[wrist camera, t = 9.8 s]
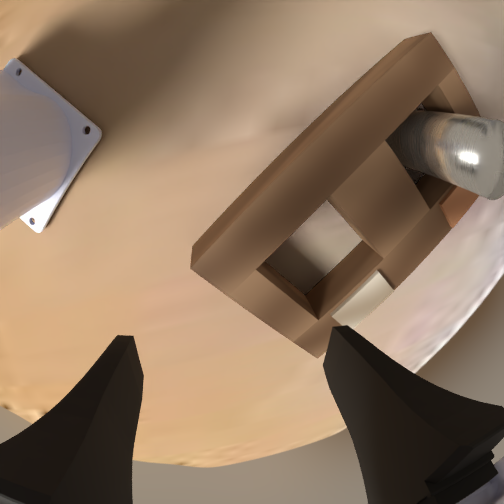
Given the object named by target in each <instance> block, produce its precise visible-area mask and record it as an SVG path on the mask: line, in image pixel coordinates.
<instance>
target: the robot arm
mask: <svg viewBox="0 0 504 504" xmlns="http://www.w3.org/2000/svg"><path fill="white" fill-rule="evenodd" d="M21 69H22V72H21V74H20V75H19V72H20V70H21ZM87 126H89V127H90V133H89V134H86V133H85V128H86V127H87ZM101 137H102V131H101V129H100V128H99V127H98V126H96V125H95V124H94V123H93V122H92V121H90V120H89V119H88V118H87V117H86V116H85V115H83V114H82V113H81V112H80V111H79V110H77V109H76V108H75V107H74V106H73V105H72V104H70V103H69V102H68V101H67V100H66V99H64V98H63V97H62V96H61V95H60V94H58V93H57V92H56V91H55V90H54V89H53V88H51V87H50V86H49V85H48V84H47V83H45V82H44V81H43V80H42V79H41V78H40V77H38V76H37V75H36V74H35V73H34V72H32V71H31V70H30V69H29V68H28V67H27V66H25V65H24V64H23V63H22V62H21V61H19V60H18V59H15V58H13V59H11V60H10V61H9V62H8V63H7V65H6V66H5V68H4V70H0V230H2V229H3V228H4V227H6V226H7V225H9V224H10V223H12V222H13V221H15V220H16V219H18V218H19V217H20V218H21V219H22V220H23V221H24V222H25V223H26V224H27V225H28V226H29V227H31V228H32V229H33V230H34V231H35V232H37V233H40V232H42V231H43V230H44V229H45V227H46V225H47V224H48V222H49V220H50V218H51V216H52V214H53V213H54V211H55V209H56V207H57V206H58V204H59V202H60V200H61V199H62V197H63V195H64V194H65V192H66V190H67V189H68V187H69V185H70V184H71V182H72V181H73V179H74V177H75V176H76V174H77V173H78V171H79V170H80V168H81V167H82V165H83V164H84V162H85V161H86V159H87V158H88V156H89V155H90V153H91V152H92V151H93V149H94V148H95V146H96V145H97V144H98V142H99V141H100V139H101ZM32 218H34V219H35V223H34V222H33V221H32ZM323 368H324V371H325V375H326V378H327V382H328V385H329V388H330V390H331V393H332V395H333V397H334V399H335V402H336V404H337V406H338V408H339V410H340V413H341V415H342V417H343V419H344V421H345V424H346V426H347V428H348V430H349V432H350V435H351V438H352V440H353V443H354V447H355V450H356V453H357V456H358V459H359V463H360V467H361V471H362V475H363V479H364V484H365V489H366V493H367V499H368V504H504V457H503V458H501V459H500V460H499V461H498V462H496V463H495V464H494V465H493V463H492V461H491V460H492V459H493V458H494V454H493V453H492V451H491V450H492V449H493V448H494V447H495V446H496V445H497V444H498V443H499V442H500V441H501V440H502V439H503V437H504V408H503V407H502V406H498V405H493V404H488V403H483V402H479V401H476V400H472V399H469V398H466V397H463V396H460V395H457V394H454V393H452V392H450V391H448V390H445V389H443V388H441V387H438V386H436V385H434V384H432V383H430V382H428V381H426V380H425V379H423V378H421V377H419V376H417V375H416V374H414V373H412V372H411V371H409V370H408V369H406V368H405V367H403V366H402V365H400V364H399V363H397V362H396V361H394V360H393V359H391V358H390V357H389V356H387V355H386V354H385V353H383V352H382V351H381V350H379V349H378V348H377V347H375V346H374V345H373V344H371V343H370V342H369V341H368V340H366V339H365V338H364V337H362V336H361V335H360V334H359V333H357V332H356V331H355V330H353V329H352V328H351V327H349V326H348V325H343V326H335V327H332V331H331V335H330V339H329V343H328V348H327V352H326V355H325V359H324V363H323ZM143 378H144V375H143V371H142V367H141V364H140V360H139V356H138V352H137V348H136V344H135V340H134V336H123V335H117V336H116V337H115V339H114V340H113V341H112V342H111V344H110V345H109V346H108V347H107V349H106V350H105V351H104V352H103V354H102V355H101V356H100V357H99V359H98V360H97V361H96V362H95V364H94V365H93V366H92V367H91V368H90V370H89V371H88V372H87V373H86V374H85V376H84V377H83V378H82V379H81V380H80V381H79V382H78V383H77V384H76V386H75V387H74V388H73V389H72V390H71V391H70V392H69V393H68V394H67V395H66V396H65V397H64V398H63V399H62V400H61V401H60V402H59V403H58V404H57V405H56V406H55V407H53V408H52V409H51V410H50V411H49V412H48V413H46V414H45V415H44V416H42V417H41V418H40V419H39V420H37V421H36V422H35V423H33V424H32V425H31V426H29V427H28V428H26V429H25V430H24V431H22V432H20V433H19V434H17V435H16V436H14V437H12V438H11V439H9V440H7V441H5V442H3V443H1V444H0V504H133V501H132V457H133V448H134V442H135V436H136V430H137V424H138V419H139V413H140V408H141V402H142V393H143Z"/></svg>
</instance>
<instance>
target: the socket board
mask: <svg viewBox="0 0 504 504" xmlns="http://www.w3.org/2000/svg"><path fill="white" fill-rule="evenodd" d="M421 103H422V104H423V106H424V107H425V109H426V111H435V112H445V113H454V114H462V115H470V116H476V117H481V116H480V114H479V112H478V110H477V108H476V106H475V104H474V102H473V100H472V98H471V96H470V94H469V93H468V91H467V89H466V87H465V85H464V83H463V82H462V80H461V78H460V76H459V75H458V73H457V71H456V70H455V68H454V66H453V65H452V63H451V61H450V60H449V58H448V57H447V55H446V53H445V52H444V50H443V49H442V47H441V46H440V44H439V43H438V41H437V40H436V39H435V37H434V36H433V34H432V33H427V34H423V35H419V36H415V37H411V38H408V39H404V40H403V41H402V42H401V43H400V44H398V45H397V46H396V47H395V48H394V49H393V50H391V51H390V52H389V53H388V54H387V55H386V56H384V57H383V58H382V59H381V60H380V61H379V62H378V63H377V64H375V65H374V66H373V67H372V68H371V69H370V70H369V71H368V72H366V73H365V74H364V75H363V76H362V77H361V78H360V79H359V80H358V81H356V82H355V83H354V84H353V85H352V86H351V87H350V88H349V89H348V90H347V91H346V92H344V93H343V94H342V95H341V96H340V97H339V98H338V99H337V100H336V101H335V102H334V103H333V104H332V105H331V106H329V107H328V108H327V109H326V110H325V111H324V112H323V113H322V114H321V115H320V116H319V117H318V118H317V119H316V120H315V121H314V122H313V123H312V124H311V125H310V126H308V127H307V128H306V129H305V130H304V131H303V132H302V133H301V134H300V135H299V136H298V137H297V138H296V139H295V140H294V141H293V142H292V143H291V144H290V145H289V146H288V147H287V148H286V149H285V150H284V151H283V152H282V153H281V154H280V155H279V156H278V157H277V158H276V159H275V160H274V161H273V162H272V163H271V164H270V165H269V166H268V167H267V168H266V169H265V170H264V171H263V172H262V173H261V174H260V175H259V176H258V177H257V178H256V179H255V180H254V181H253V182H252V183H251V184H250V185H249V186H248V187H247V189H246V190H245V191H244V192H243V193H242V194H241V195H240V196H239V197H238V198H237V199H236V200H235V201H234V202H233V203H232V204H231V205H230V206H229V207H228V208H227V209H226V211H225V212H224V213H223V214H222V215H221V216H220V217H219V218H218V219H217V220H216V221H215V222H214V223H213V224H212V225H211V227H210V228H209V229H208V230H207V231H206V232H205V233H204V234H203V235H202V236H201V237H200V238H199V240H198V241H197V242H196V243H195V244H194V245H193V246H192V256H191V267H190V269H192V270H193V271H194V272H196V273H197V274H198V275H200V276H201V277H202V278H204V279H205V280H206V281H208V282H209V283H211V284H212V285H213V286H215V287H216V288H217V289H219V290H220V291H221V292H223V293H224V294H225V295H227V296H228V297H230V298H231V299H232V300H234V301H235V302H237V303H238V304H239V305H241V306H242V307H243V308H245V309H246V310H248V311H249V312H250V313H252V314H253V315H255V316H256V317H258V318H259V319H260V320H262V321H263V322H265V323H266V324H268V325H269V326H270V327H272V328H273V329H275V330H276V331H278V332H279V333H280V334H282V335H283V336H285V337H286V338H288V339H289V340H291V341H292V342H294V343H295V344H297V345H298V346H300V347H301V348H303V349H304V350H306V351H307V352H309V353H310V354H312V355H313V356H315V357H316V358H319V357H320V356H321V355H322V354H324V353H325V352H326V351H327V348H328V343H329V339H330V335H331V331H332V327H335V326H343V325H348V326H349V327H351V328H352V329H354V328H355V327H356V326H357V325H359V324H360V323H361V322H362V321H363V320H364V319H365V318H366V317H367V316H369V315H370V314H371V313H372V312H373V311H374V310H375V309H376V308H377V307H378V306H379V305H380V304H381V303H382V302H384V301H385V300H386V299H387V298H388V297H389V296H390V295H391V294H392V293H393V292H394V290H395V289H396V288H397V287H398V286H399V285H400V284H401V283H402V282H403V281H404V280H405V279H406V278H407V277H408V276H409V275H410V274H411V273H412V272H413V271H414V270H415V269H416V268H417V267H418V265H419V264H420V263H421V262H422V261H423V260H424V259H425V258H426V257H427V256H428V255H429V254H430V253H431V251H432V250H433V249H434V248H435V247H436V246H437V245H438V244H439V243H440V241H441V240H442V239H443V238H444V237H445V236H446V235H447V233H448V232H449V231H450V230H451V229H452V228H453V227H454V226H455V225H456V224H457V223H458V221H459V220H460V219H461V218H462V217H463V215H464V214H465V213H466V212H467V210H468V209H469V208H470V207H471V205H472V204H473V203H474V202H475V200H476V199H477V198H478V196H479V195H478V194H476V193H473V192H471V191H469V190H466V189H464V188H461V187H459V186H457V185H454V184H452V183H449V182H447V181H444V180H441V179H439V178H436V177H433V176H431V175H428V174H425V175H424V176H423V177H422V178H421V179H420V180H419V181H418V182H417V184H416V185H415V184H414V182H413V181H412V179H411V178H410V176H409V175H408V173H407V171H406V170H405V168H404V167H403V165H402V164H401V162H400V161H399V159H398V158H397V157H396V155H395V154H394V152H393V151H392V149H391V148H390V146H389V145H388V144H387V142H386V141H385V140H386V139H387V138H388V137H389V136H390V135H391V134H392V133H393V132H394V131H395V129H396V128H397V127H398V126H399V125H400V124H401V123H402V122H403V121H404V120H405V119H406V118H407V117H408V116H409V115H410V114H411V113H412V112H413V111H414V110H415V109H416V108H417V107H418V106H419V105H420V104H421ZM326 200H328V201H329V202H330V203H331V204H332V206H333V207H334V208H335V209H336V210H337V211H338V212H339V213H340V215H341V216H342V217H343V218H344V219H345V220H346V221H347V222H348V224H349V225H350V226H351V227H352V228H353V229H354V231H355V232H356V233H357V234H358V235H359V236H360V238H361V239H362V241H361V242H360V243H359V244H358V245H357V246H356V247H355V248H354V249H353V250H352V251H351V252H350V253H349V254H348V255H347V256H346V257H345V258H344V259H343V260H342V261H341V262H340V263H339V264H338V265H337V266H336V267H335V268H334V269H333V270H332V271H331V272H330V273H329V274H327V275H326V276H325V277H324V278H323V279H322V280H321V281H320V282H319V283H318V284H317V285H316V286H315V287H314V288H313V289H312V290H310V291H309V292H308V293H307V294H306V295H304V294H303V293H302V292H301V291H299V290H298V289H297V288H296V287H295V286H293V285H292V284H291V283H290V282H289V281H288V280H286V279H285V278H284V277H283V276H282V275H280V274H279V273H278V272H277V271H276V270H275V269H273V268H272V267H271V266H270V265H269V264H267V263H266V262H265V260H266V259H267V258H268V257H269V256H270V255H271V254H272V253H273V252H274V251H275V250H276V249H277V248H278V247H279V246H280V245H281V244H282V243H283V242H284V241H285V240H286V239H287V238H288V237H289V236H290V235H291V234H292V233H293V232H294V231H295V230H296V229H297V228H298V227H299V226H300V225H301V224H302V223H303V222H305V221H306V220H307V219H308V218H309V217H310V216H311V215H312V214H313V213H314V212H315V211H316V210H317V209H318V208H319V207H320V206H321V205H322V204H323V203H324V202H325V201H326Z"/></svg>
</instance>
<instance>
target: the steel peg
mask: <svg viewBox="0 0 504 504" xmlns="http://www.w3.org/2000/svg"><path fill="white" fill-rule="evenodd" d="M385 141H386V142H387V144H388V145H389V146H390V148H391V149H392V151H393V152H394V154H395V155H396V157H397V158H398V159H399V161H400V162H401V164H402V165H403V166H405V167H408V168H411V169H414V170H417V171H420V172H422V173H425V174H428V175H431V176H433V177H436V178H439V179H441V180H444V181H447V182H449V183H452V184H454V185H457V186H459V187H461V188H464V189H466V190H469V191H471V192H473V193H476V194H478V195H480V196H483V197H485V198H487V199H489V200H496V199H498V198H500V197H502V196H503V195H504V123H503V122H502V121H500V120H495V119H489V118H483V117H476V116H470V115H462V114H454V113H445V112H435V111H422V110H414V111H413V112H412V113H411V114H410V115H409V116H408V117H407V118H406V119H405V120H404V121H403V122H402V123H401V124H400V125H399V126H398V127H397V128H396V129H395V131H394V132H393V133H392V134H391V135H390V136H389V137H388V138H387V139H386V140H385Z"/></svg>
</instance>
